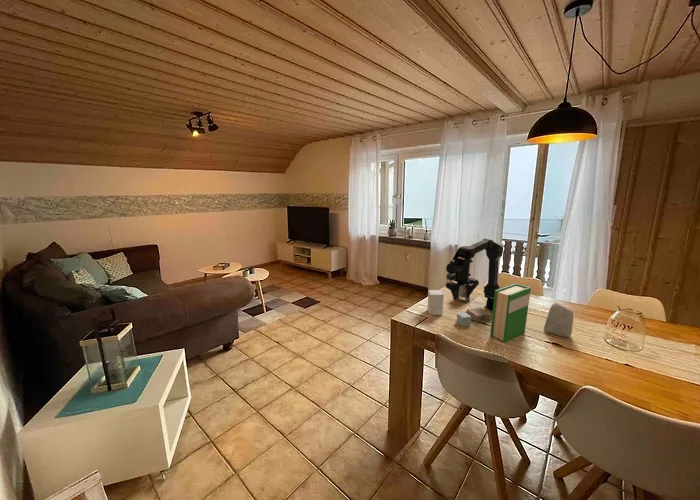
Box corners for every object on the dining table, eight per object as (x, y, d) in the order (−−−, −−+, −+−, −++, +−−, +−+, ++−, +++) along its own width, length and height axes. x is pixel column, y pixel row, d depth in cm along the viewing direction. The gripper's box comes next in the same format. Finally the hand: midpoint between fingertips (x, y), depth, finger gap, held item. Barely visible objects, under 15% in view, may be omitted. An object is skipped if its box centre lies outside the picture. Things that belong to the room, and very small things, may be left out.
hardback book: (504, 343, 132) (510, 295, 127) (489, 336, 138) (494, 290, 133) (524, 332, 141) (530, 287, 136) (509, 326, 148) (515, 283, 142)
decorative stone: (572, 336, 138) (577, 307, 135) (568, 340, 134) (573, 311, 131) (546, 327, 146) (550, 300, 143) (542, 331, 142) (546, 303, 139)
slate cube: (464, 321, 155) (465, 312, 153) (470, 325, 150) (471, 316, 149) (456, 322, 153) (457, 313, 152) (462, 326, 149) (463, 317, 148)
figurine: (474, 299, 183) (476, 277, 180) (464, 303, 177) (466, 280, 173) (462, 295, 191) (463, 273, 187) (451, 299, 184) (453, 277, 181)
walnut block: (479, 313, 164) (480, 307, 163) (490, 320, 155) (491, 314, 154) (465, 315, 161) (466, 309, 161) (476, 322, 153) (477, 316, 152)
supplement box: (439, 310, 168) (441, 290, 165) (442, 315, 161) (444, 294, 158) (427, 309, 169) (428, 289, 166) (429, 315, 162) (430, 294, 159)
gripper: (464, 265, 160) (461, 291, 163) (439, 269, 151) (437, 297, 155) (480, 270, 150) (478, 297, 153) (455, 275, 142) (452, 304, 145)
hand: (461, 299), depth 152 cm, fingers open, 9 cm apart
